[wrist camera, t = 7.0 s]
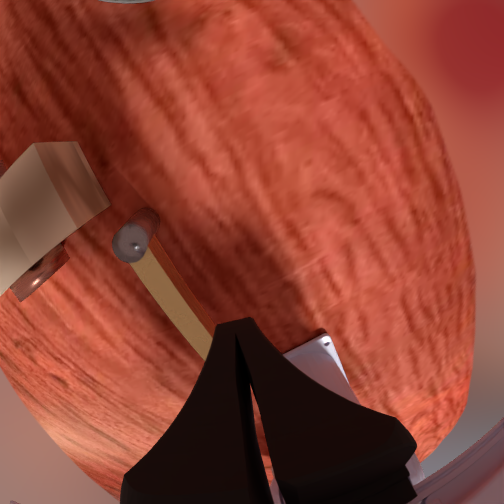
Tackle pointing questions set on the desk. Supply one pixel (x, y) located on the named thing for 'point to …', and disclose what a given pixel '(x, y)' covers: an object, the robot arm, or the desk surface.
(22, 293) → the pin
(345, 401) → the robot arm
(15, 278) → the hitch block
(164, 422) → the desk surface
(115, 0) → the ceramic mug
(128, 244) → the bar
